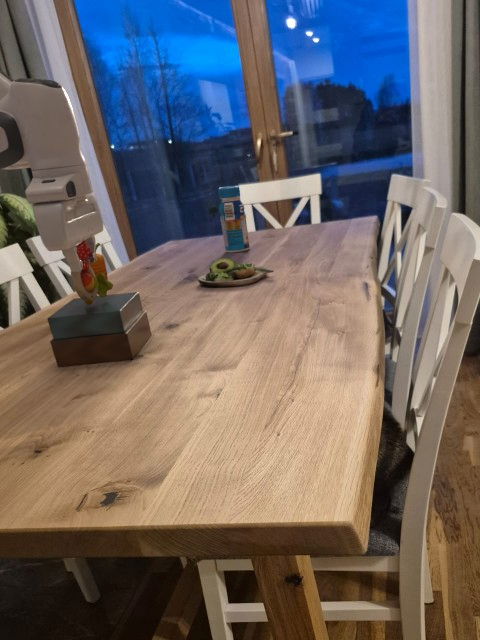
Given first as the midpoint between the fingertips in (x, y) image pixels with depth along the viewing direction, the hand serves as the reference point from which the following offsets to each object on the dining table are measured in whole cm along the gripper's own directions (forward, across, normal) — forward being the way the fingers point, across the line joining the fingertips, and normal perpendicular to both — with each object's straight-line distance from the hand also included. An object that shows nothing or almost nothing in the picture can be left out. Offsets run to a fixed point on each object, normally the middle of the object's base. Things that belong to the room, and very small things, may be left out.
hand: (84, 266), depth 104 cm
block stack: (+16, 0, 0) cm, 16 cm away
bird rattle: (+7, 0, 0) cm, 7 cm away
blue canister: (+16, -91, +16) cm, 94 cm away
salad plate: (+16, -49, +19) cm, 55 cm away
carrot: (+16, -42, -14) cm, 47 cm away
